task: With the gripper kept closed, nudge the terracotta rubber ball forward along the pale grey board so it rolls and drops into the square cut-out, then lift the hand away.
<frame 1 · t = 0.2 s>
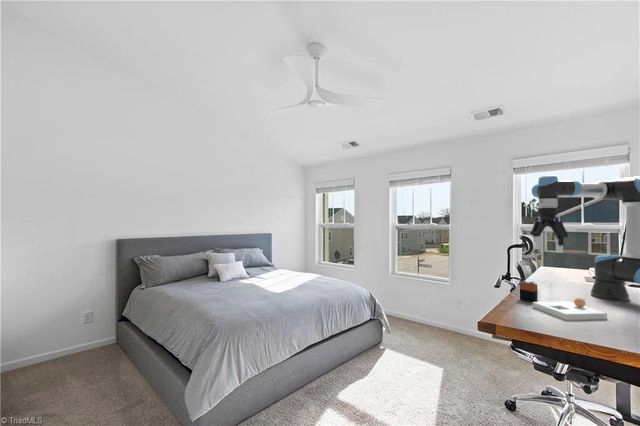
hand: (548, 250, 145), 27 cm above the table, fingers open, 13 cm apart
ball: (579, 302, 136), point 4 cm above the table, touching white flat square slab
white flat square slab: (567, 312, 136), on the table
battery: (528, 301, 156), on the table
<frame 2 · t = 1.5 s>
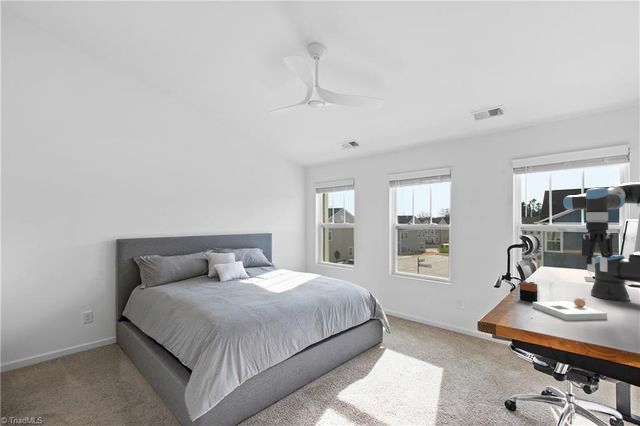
hand: (597, 271, 137), 19 cm above the table, fingers open, 6 cm apart
nothing on the table moved.
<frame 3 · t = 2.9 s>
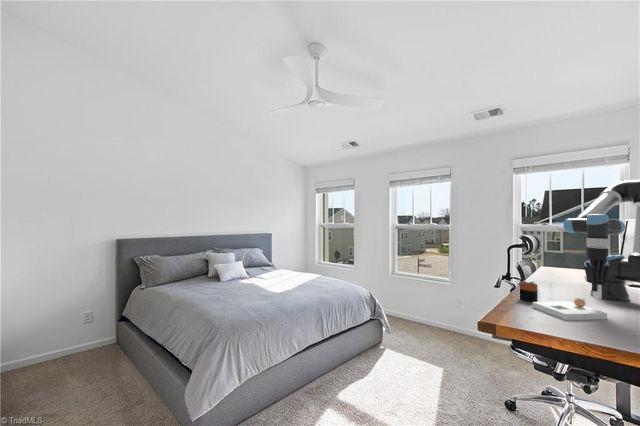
hand: (597, 298, 137), 6 cm above the table, fingers closed
nothing on the table moved.
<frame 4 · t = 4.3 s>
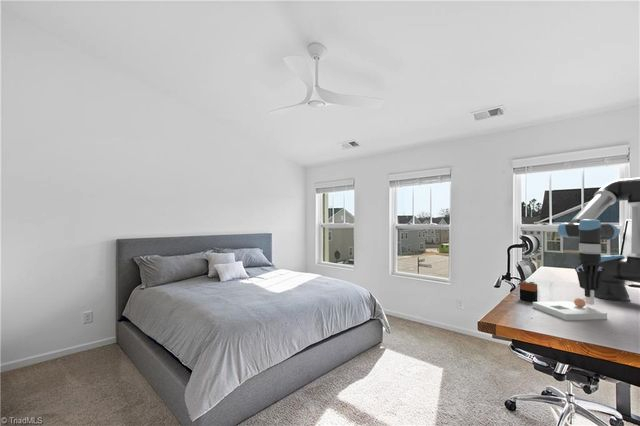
hand: (589, 303, 137), 4 cm above the table, fingers closed
nothing on the table moved.
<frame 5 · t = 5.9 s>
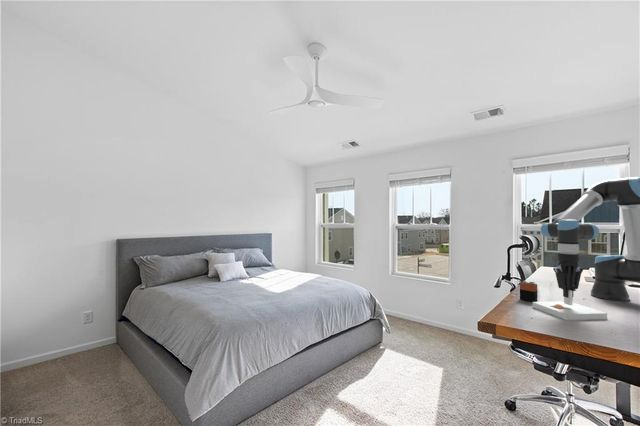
hand: (568, 304, 136), 4 cm above the table, fingers closed
ball: (558, 308, 135), point 2 cm above the table, tilted 27°
everything else where it was.
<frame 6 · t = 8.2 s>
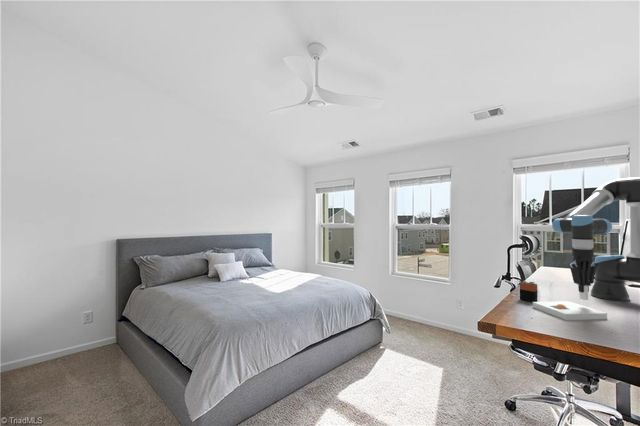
hand: (583, 299, 137), 6 cm above the table, fingers closed
ball: (561, 308, 136), point 2 cm above the table, tilted 61°
everything else where it was.
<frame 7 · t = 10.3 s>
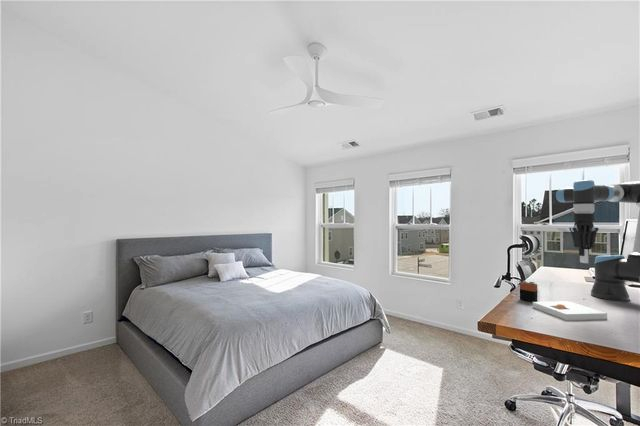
hand: (584, 262, 140), 22 cm above the table, fingers closed
nothing on the table moved.
at the end: ball 0.6 cm from the target spot on the white flat square slab, point 2.0 cm above the white flat square slab's base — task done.
